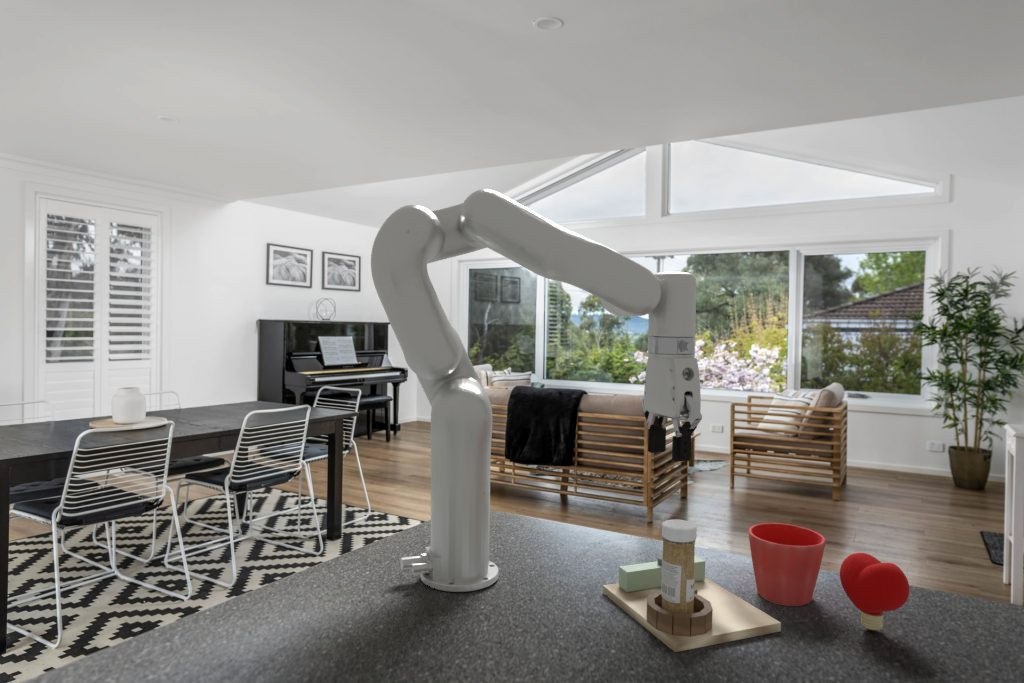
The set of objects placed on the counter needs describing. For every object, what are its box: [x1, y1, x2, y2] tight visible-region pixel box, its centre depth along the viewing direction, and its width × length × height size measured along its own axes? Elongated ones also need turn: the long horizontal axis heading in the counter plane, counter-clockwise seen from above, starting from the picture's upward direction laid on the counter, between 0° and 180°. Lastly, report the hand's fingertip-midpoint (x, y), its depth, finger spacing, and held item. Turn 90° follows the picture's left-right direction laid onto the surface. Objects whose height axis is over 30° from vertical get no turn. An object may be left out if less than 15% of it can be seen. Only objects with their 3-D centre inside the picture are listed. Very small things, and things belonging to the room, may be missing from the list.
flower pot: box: [748, 522, 826, 607], centre depth 103 cm, size 11×11×10 cm
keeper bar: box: [618, 555, 706, 592], centre depth 104 cm, size 14×2×4 cm, turn 111°
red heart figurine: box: [839, 552, 910, 633], centre depth 91 cm, size 9×7×10 cm
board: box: [602, 576, 782, 653], centre depth 97 cm, size 17×19×4 cm
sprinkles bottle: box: [661, 518, 698, 614], centre depth 91 cm, size 5×5×14 cm
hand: (668, 455), depth 111 cm, fingers open, 6 cm apart
